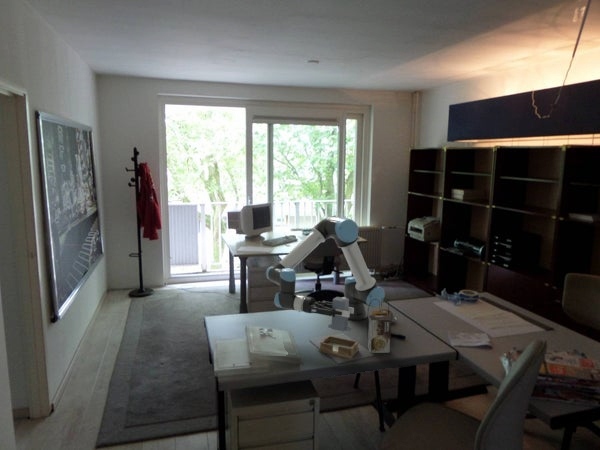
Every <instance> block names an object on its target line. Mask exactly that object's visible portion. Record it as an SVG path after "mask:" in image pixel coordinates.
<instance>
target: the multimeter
mask: <svg viewBox="0 0 600 450" xmlns="http://www.w3.org/2000/svg"><path fill="white" fill-rule="evenodd" d="M382 299H383V300H386V301H387V303H388V305H390V303H389V300H388V299H387V298H385V297H384V298H382ZM373 300H375V299H373ZM376 300H377V299H376ZM378 301H379V300H378ZM371 302H372V301H371ZM371 302H370V303H371ZM382 304H383V301H382V300H381V304H380V301H379V306H378V310H377V311H376V310H374V311H372V314H371V315H388V316H390V315H389V313H390V311H389V310H390V306H388V311H386V310H383V309H382V308H383V305H382ZM370 307H371V306H370V305H369V306H368V309H367V311H369V310H370ZM366 321H367V322H366V327H367V328H366V332H367V338H368V337H369V313H367V317H366ZM391 331H392V329H391V330H390V334H392V332H391ZM393 338H394V336H393V337H392V336H391V339H393Z"/></svg>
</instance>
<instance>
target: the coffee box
mask: <svg viewBox="0 0 600 450" xmlns="http://www.w3.org/2000/svg"><path fill="white" fill-rule="evenodd" d="M389 316H390V315H389ZM389 316H388V315H372V314H371V315H369V314H368V337H367V341H368V343H367V349H368V351H369V353H371V354H382V353H383V354H385V353H386V354H390V350H391V333H390V330H391V331H392V329H391V326H392V323H391V322H392V320H391V319H392V318H390V317H389Z"/></svg>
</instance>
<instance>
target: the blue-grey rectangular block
mask: <svg viewBox="0 0 600 450" xmlns="http://www.w3.org/2000/svg"><path fill="white" fill-rule="evenodd" d="M332 302H333V306H332V309H335V311H336V309H340V310H345V311H348V308H349V299H348V298H345V297H344V296H342V297H340V296H336V297H333V299H332ZM348 325H349V319H348V317H343V316H338V315H335V317H333V315H332V316H331V323H329V324H328V328H330V329H331V330H334V331H340V332H350V331H352V327H351V326H348Z"/></svg>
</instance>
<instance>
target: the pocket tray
mask: <svg viewBox="0 0 600 450" xmlns="http://www.w3.org/2000/svg"><path fill="white" fill-rule="evenodd" d="M319 343H320V344H319V350H318V352H319V353H324V354H329V355H333V356H337V357H341V358H346V359H353V357H354V356H355V355H356V354H357V353H358V352H359V342H358V341H357V340H353V339H347V338H343V337H339V336H334V335H327V336H326V337H324V338H323V339H322V340H321V341H320V342H319Z"/></svg>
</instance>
